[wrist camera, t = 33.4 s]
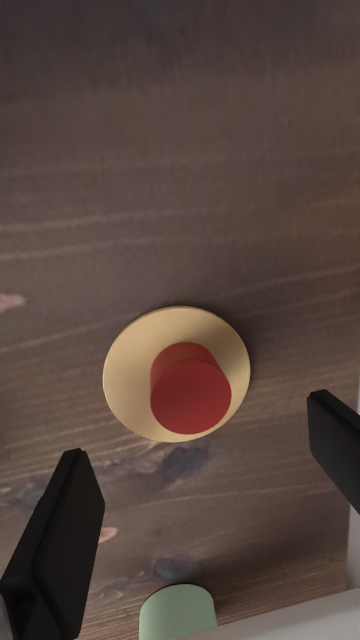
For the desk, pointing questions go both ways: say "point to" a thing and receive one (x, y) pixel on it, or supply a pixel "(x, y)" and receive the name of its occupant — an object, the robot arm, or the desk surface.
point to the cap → (188, 389)
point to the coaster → (143, 347)
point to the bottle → (176, 613)
